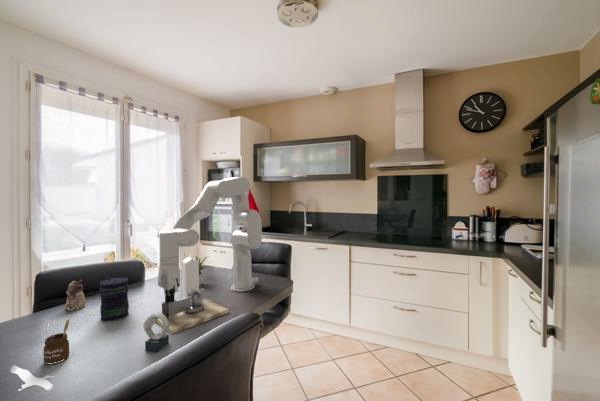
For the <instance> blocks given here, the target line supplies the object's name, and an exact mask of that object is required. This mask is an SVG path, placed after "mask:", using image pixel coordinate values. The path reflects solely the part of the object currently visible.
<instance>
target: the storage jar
mask: <svg viewBox="0 0 600 401" xmlns="http://www.w3.org/2000/svg"><path fill="white" fill-rule="evenodd" d="M128 281H129V278H128V277H126V276H125V277H124V276H117V277H111V278H106V279H103V280H101V281H100V282H99V296H100V304H101V305H100V309H99V310H100V311H99V313H100V320H101V321H102V322H114V321H118V320H121V319H124V318H126V317H127V316H128V315H129V306H130V305H129V300H128V299H129V298H128V297H129V296H128V293H129V282H128Z"/></svg>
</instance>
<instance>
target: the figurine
mask: <svg viewBox="0 0 600 401" xmlns="http://www.w3.org/2000/svg"><path fill="white" fill-rule="evenodd" d="M82 283H83V280H82V279H80V280H79V281H76V280H72V282H70V283H69V285H68V287H67V289H66V292H65V293H66V294H67V297H66V300H65V301H66V303H65V307H64V310H65V309H70V310H71V309H77V308H80V309H82V308H84V307H85V306H86V297H85V293H84V292H83V290H84V286H83V284H82ZM79 288H80V289H79ZM84 305H85V306H84ZM83 306H84V307H83ZM81 307H82V308H81ZM77 310H78V309H77Z"/></svg>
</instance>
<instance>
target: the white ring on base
mask: <svg viewBox="0 0 600 401" xmlns="http://www.w3.org/2000/svg"><path fill="white" fill-rule="evenodd" d="M158 318H159V319H160V320H161V321H162V322H163V321H164V322H163V324H164V327H162V331H161V332H158V333H155V332H154V330H153V327H154V325H155V324H156V321H157V319H158ZM142 324H143V325H142V327H143V331H144V332H145V333H146V335H147V337H149V338H148V339H147V340H145V342H144V343H145V346H144V347H145V349H144V350H145V352H151V353H159V352H160V351H161V350H162V349H164V348H165V347H167V345H169V344H170V343H169V342H170V340H169V336H170V335H169V334H168V329H169V321H168V319H167V317H166V316H165V315H164V314H162V312H157V313H152V314H151V315H150V316H148V317H147V319H145V321H144V323H142Z"/></svg>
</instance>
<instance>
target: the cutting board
mask: <svg viewBox="0 0 600 401" xmlns="http://www.w3.org/2000/svg"><path fill="white" fill-rule="evenodd" d="M202 304H204V309H203V310H202V311H200V312H197V313H191V314H189V313H185V312H181V313H177V314H174V315H171V316H169V319H168V321H169V329H168V331H167V333H170V334H171V335H173V334H176V333H178V332H181V331H184V330H186V329H189V328H191V327H195V326H197V325H199V324H202V323H205V322H208V321H211V320H213V319H216V318H219V317H220V316H223V315H226V314H228V313H229V308H226V307H225V306H223V305H220V304H218V303H216V302H215V301H212V300H210V299H208V298H205V299H202ZM163 322H164V321H163ZM163 322H162V321H161V320H160V319H159V318H158V319H157V321H156V322H155V324H157V325H159V326H160V327H162V328H163V327H164V324H163Z"/></svg>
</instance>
